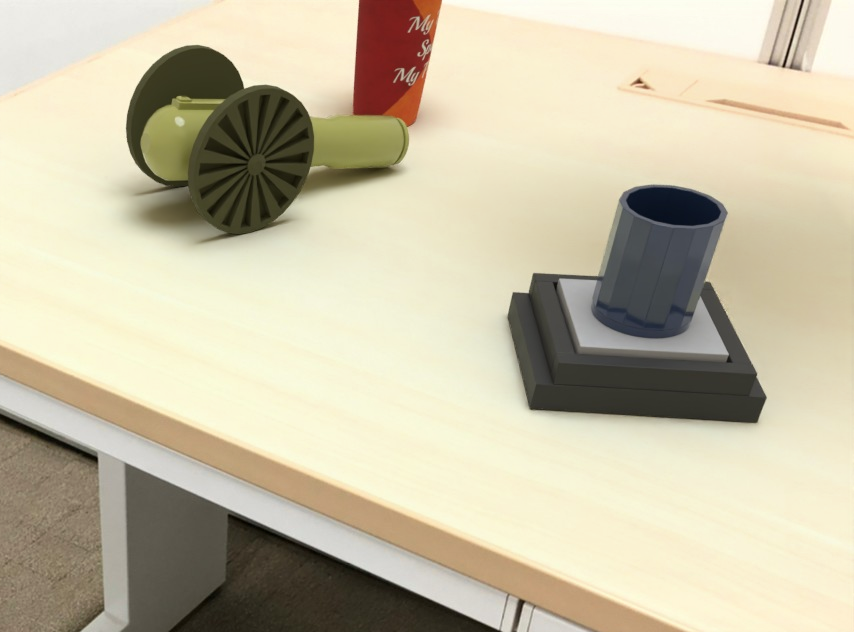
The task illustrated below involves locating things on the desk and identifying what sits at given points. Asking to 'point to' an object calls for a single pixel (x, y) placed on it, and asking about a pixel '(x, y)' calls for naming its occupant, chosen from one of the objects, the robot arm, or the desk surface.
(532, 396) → the scale
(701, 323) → the pan
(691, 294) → the small cup
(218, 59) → the cannon
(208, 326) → the desk surface
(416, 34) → the coffee cup
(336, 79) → the desk surface
